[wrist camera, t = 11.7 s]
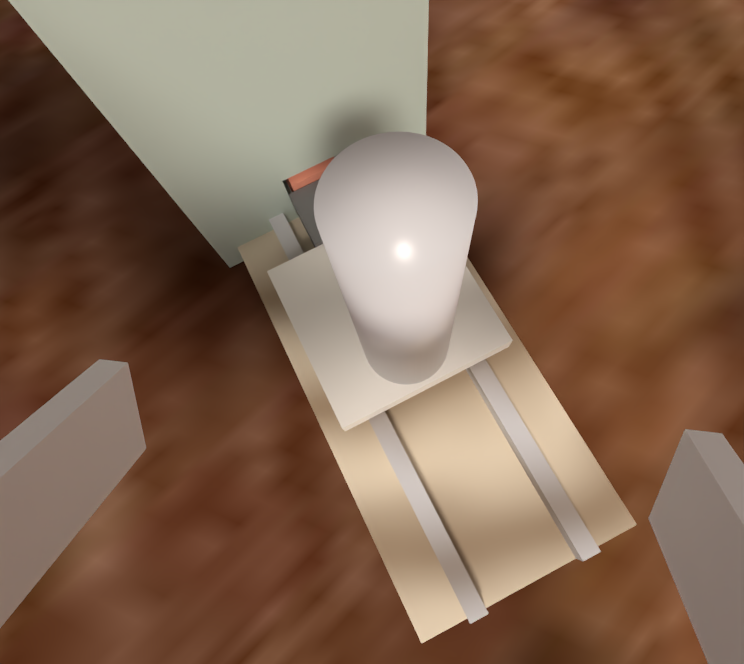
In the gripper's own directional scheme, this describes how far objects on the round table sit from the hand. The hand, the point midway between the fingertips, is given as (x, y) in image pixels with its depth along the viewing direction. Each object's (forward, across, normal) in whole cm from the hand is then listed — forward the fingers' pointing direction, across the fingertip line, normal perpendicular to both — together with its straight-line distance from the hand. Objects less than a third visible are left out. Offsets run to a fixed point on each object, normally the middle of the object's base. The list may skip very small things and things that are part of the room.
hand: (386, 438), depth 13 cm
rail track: (+12, 0, -6) cm, 13 cm away
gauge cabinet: (+19, -7, +1) cm, 20 cm away
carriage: (+12, -2, -1) cm, 13 cm away
